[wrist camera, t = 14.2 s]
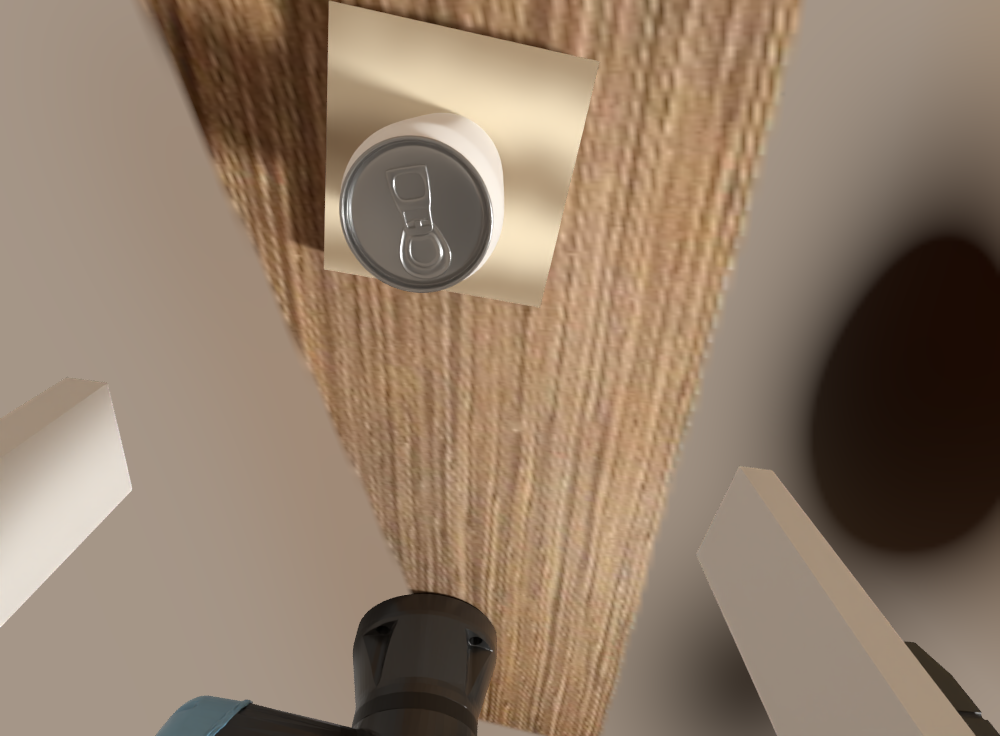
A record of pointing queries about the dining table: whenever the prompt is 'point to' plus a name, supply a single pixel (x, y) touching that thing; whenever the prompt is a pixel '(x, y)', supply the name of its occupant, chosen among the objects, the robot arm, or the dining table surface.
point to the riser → (478, 97)
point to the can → (423, 202)
